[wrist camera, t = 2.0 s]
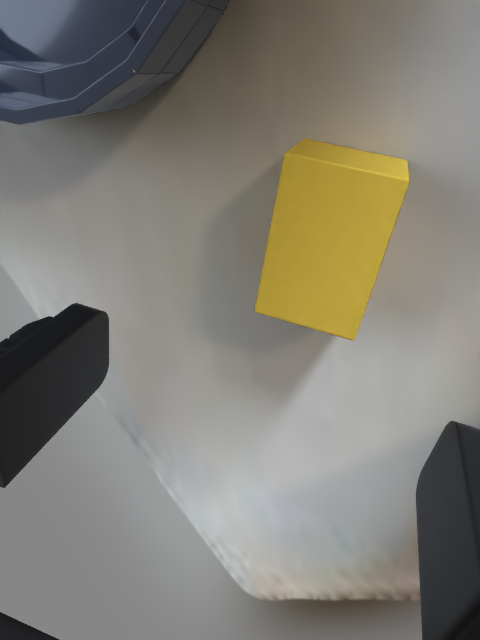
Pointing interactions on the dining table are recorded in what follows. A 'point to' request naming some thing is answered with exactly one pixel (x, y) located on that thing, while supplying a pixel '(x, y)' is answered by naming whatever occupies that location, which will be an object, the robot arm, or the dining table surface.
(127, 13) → the bowl
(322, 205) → the yellow block
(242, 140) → the dining table surface
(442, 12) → the dining table surface
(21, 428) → the robot arm
